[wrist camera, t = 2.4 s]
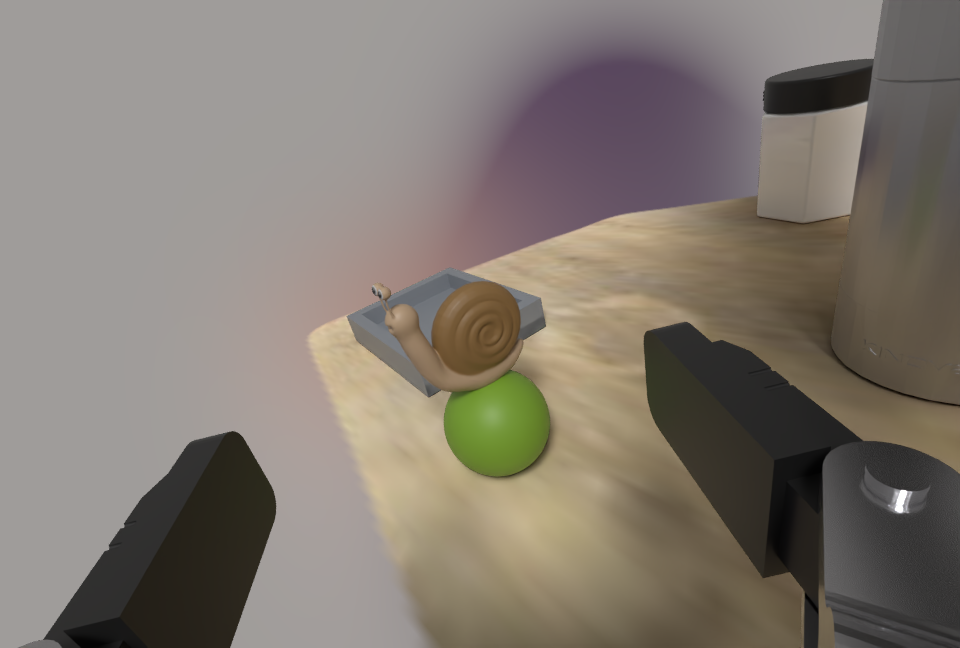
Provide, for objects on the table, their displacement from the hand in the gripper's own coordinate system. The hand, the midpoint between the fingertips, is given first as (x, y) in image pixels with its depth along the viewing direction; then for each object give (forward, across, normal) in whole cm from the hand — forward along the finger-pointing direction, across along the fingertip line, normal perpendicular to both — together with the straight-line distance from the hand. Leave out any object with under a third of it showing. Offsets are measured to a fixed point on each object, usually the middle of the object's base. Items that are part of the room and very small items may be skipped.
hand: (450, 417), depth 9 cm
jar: (+35, -34, +12) cm, 50 cm away
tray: (+28, +2, +12) cm, 30 cm away
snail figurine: (+12, 0, +13) cm, 17 cm away
